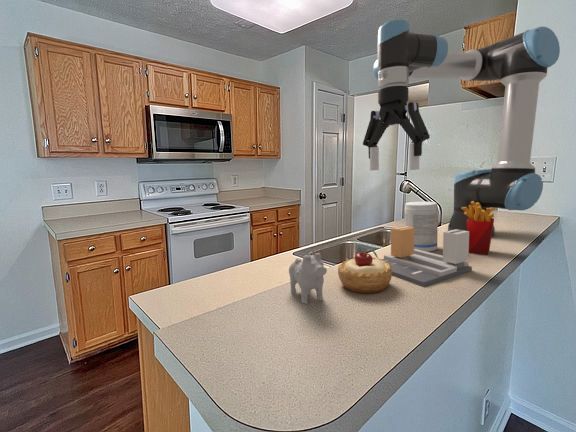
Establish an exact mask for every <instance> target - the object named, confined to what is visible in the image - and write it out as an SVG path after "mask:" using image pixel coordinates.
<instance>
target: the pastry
mask: <svg viewBox="0 0 576 432" xmlns="http://www.w3.org/2000/svg"><path fill="white" fill-rule="evenodd" d="M368 252H372V253H373V254H374V256H375V257H373V256H372V255H371V254H370V253H368ZM337 274H338V278H339V280H340V282H341V284H342V286H344V288H345V289H347V290H349V291H352V292H353V293H357V294H376V293H380V292H383V291H384V290H385V289H386V288H387V287H388V286H389V285H390V282H391V281H392V276H393V275H392V267H391V266H390V264H389V263H387V262H386V261H382V260H381V258H379V257H378V255H377V253H376V252H375V250H373V249H370V248H369V249H367V250H366V251H363V252H362V251H361V252H357V253H356V254H355V256H354V257H352V258H351V259H349V258H346V259H345V260H343V261H342V262H341V263H340V264H339V265H338V268H337Z"/></svg>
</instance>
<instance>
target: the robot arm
mask: <svg viewBox="0 0 576 432" xmlns="http://www.w3.org/2000/svg"><path fill="white" fill-rule="evenodd" d="M377 33H378V34H377V45H376V46H377V59H376V60H375V62H374V63H373V67H372V68H373V75H374V77H375V78H376V80H377V81H378V82H377V83H378V85H377V86H378V89H379V90H378V91H377V103H378V105H379V107H380V108H379V110H371V111H370V118H369V122H368V126H367V129H366V132H365V135H364V138H363V141H362V145H363V146H366V147H367V149H368V159H369V170H370V171H371V172H372V171H379V170H380V167H379V166H380V164H379V163H380V162H379V161H380V159H379V157H380V155H379V154H380V152H379V151H380V148H379V146H378V144H379V142H380V141H381V138H382V136H384V133H385V132H386V130H387V128H389V127H390V126H395V125H400V127H402V129H403V131H404V132H405V133H406V135H407V136H408V138H409V139H410V140H411V143H409V171H415V170H420V157H421V156H422V154H423V152H422V151H423V150H422V149H423V142H425V141H426V140H430V134H429V132H428V129H427V127H426V124H425V122H424V120H423V117H422V115H421V113H420V109H419V103H418V102H414V101H410V102H408V101H409V87H408V85H409V82H410V81H409V79H450V78H451V79H452V78H453V79H456V78H457V79H460V80H461V81H464V82H489V81H490V82H492V81H493V82H494V81H499V80H500V83H501V84H502V85H503V86H504V87H505V89H504V97H503V98H504V99H503V105H502V106H503V107H502V117H501V126H500V136H499V145H498V153H497V162H496V163H495V164H494V165H493V166H491V169H490V168H486V169H476V170H475V169H474V170H468V171H467V170H466V171H462V172H461V171H460V172H457V173H456V175H455V178H454V183H453V213H452V215H451V218H450V220H449V223H448V225H447V231H451V230H455V229H457V230H463V231H467V220H468V219H469V217H468V216H467V215H465V214H464V212H465V211H464V210H462V207H467V208H468V209H469V205H472V204H471V201H474V202H475V203H478V202H479V203H480V205H481V208H482V210H485V211H486V212H487V209H486V208H490V209H492V208H495V209H502V210H509V211H525V210H526V211H527V210H529V209H531V208H532V207H533V206H535V205H536V204H537V202H538V201H539V199H540V198H541V195H542V193H543V189H544V182H543V181H542V177H541V175H540V174H537V173H536V167H535V166H534V165H533V164H532V163H531V157H532V150H533V141H534V130H535V123H536V115H537V107H538V106H537V105H538V97H539V89H540V83H541V82H542V80H544V79H545V78H546V77H547V76H548V75H547V74H548V68H550V67H552V66H553V65H555V64H556V63H557V61H559V58H560V49H561V48H560V47H561V46H560V41H559V39H558V37H557V35H556V33H555V32H554V31H553V30H552V29H551V28H549V27H547V26H538V27H535V28H532V29H526V30H525V31H523V32H520V33H518V34H516V35H514V36H511V37H507V38H506V39H502V40H500V41H497V42H494V43H492V44H490V45H487V46H484V47H482V48H477V49H476V48H475V49H474V48H472V49H469V50H466V51H465V52H450V51H449V44H448V41H447V39H446V38H445V37H443V36H439V35H436V34H422V33H414V32H410V24H409V22H408V21H406V20H405V19H401V18H399V19H392V20H389V21H386V22H385V23H383V24H382V25H380V27H379V28H378V32H377ZM407 113H408V115H407ZM408 116H409V117H408ZM474 215H475V210H474ZM479 218H480V214H479ZM495 231H496V227H495V225H494V224H493V230H492V237H493V236H495Z"/></svg>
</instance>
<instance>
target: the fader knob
mask: <svg viewBox="0 0 576 432" xmlns="http://www.w3.org/2000/svg"><path fill="white" fill-rule="evenodd" d="M390 254H391V255H393V256H395V257H398V258H402V259H405V260H410V255H414V228H412V227H409V226H405V225H401V226H397V227H392V228H390Z"/></svg>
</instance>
